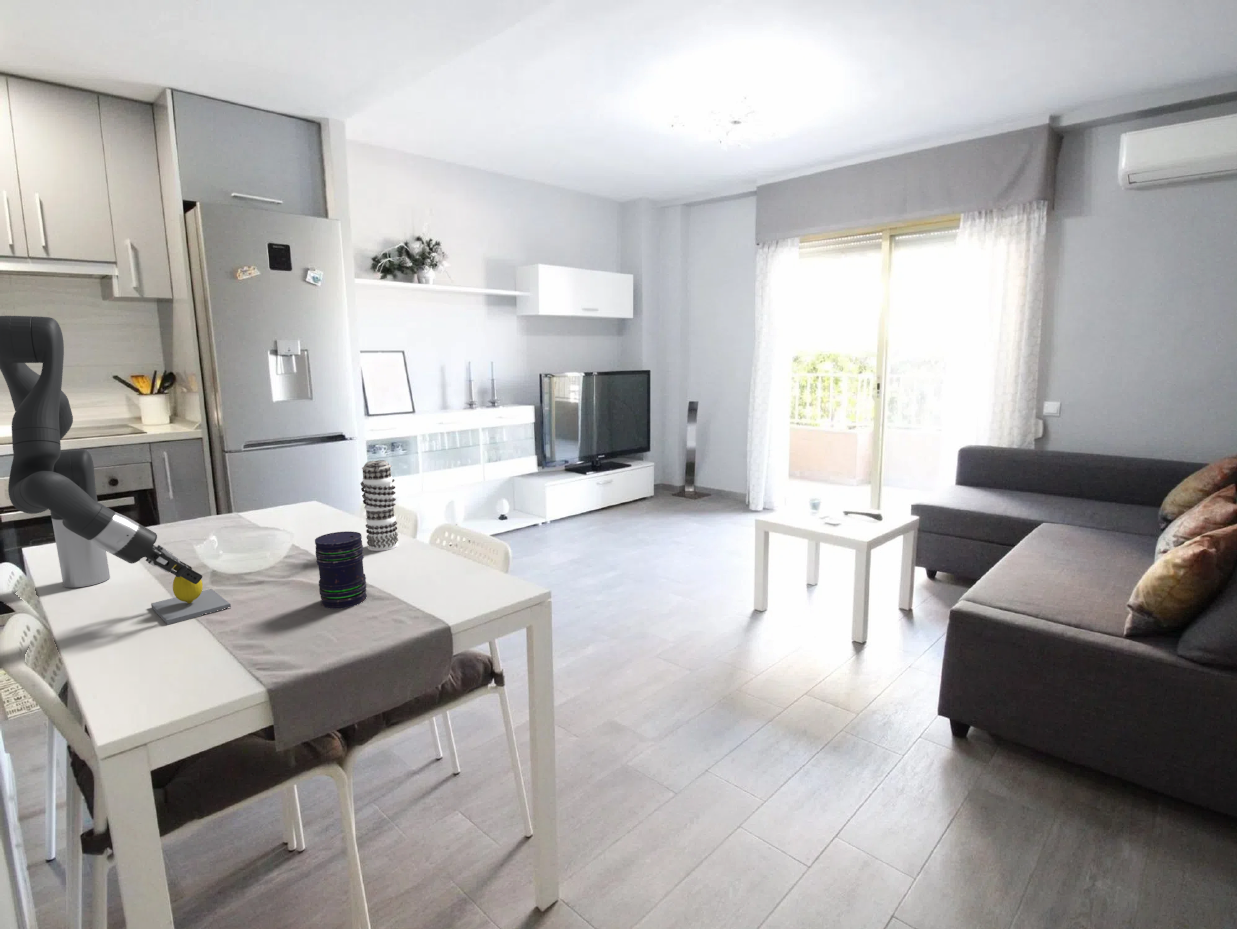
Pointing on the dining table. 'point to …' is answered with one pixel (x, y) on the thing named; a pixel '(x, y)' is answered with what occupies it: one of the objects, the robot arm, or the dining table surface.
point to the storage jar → (341, 569)
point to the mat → (189, 607)
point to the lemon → (186, 589)
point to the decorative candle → (379, 505)
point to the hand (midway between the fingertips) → (194, 575)
